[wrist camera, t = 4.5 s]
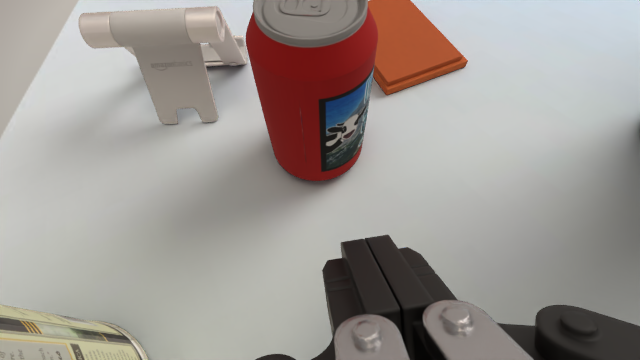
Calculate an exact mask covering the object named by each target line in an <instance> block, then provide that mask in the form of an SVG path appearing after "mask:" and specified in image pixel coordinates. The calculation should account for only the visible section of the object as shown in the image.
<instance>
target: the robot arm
mask: <svg viewBox="0 0 640 360" xmlns="http://www.w3.org/2000/svg"><path fill="white" fill-rule="evenodd" d="M341 252H342V258H340V259H333V260H327V262H326V264H325V266H324V268H323V270H322V271H323V278H324V285H325V292H326V299H327V307H328V313H329V319H330V324H331V330H332V335H333V339H332V341H331V343H330V345H329V346H328V347H327V349H326V350H325V351H323V352H322V353H321V354H320V355H318V356H317V357H315V358H313V359H312V360H640V326H637V325H634V324H631V323H628V322H624V321H621V320H618V319H615V318H612V317H608V316H605V315H602V314H599V313H596V312H593V311H589V310H586V309H583V308H579V307H574V306H567V305H553V306H548V307H545V308H543V309H541V310H540V311H539V312H538V313H537V315H536V321H535V326H527V325H511V324H500V323H496V322H495V321H494V320H493V319H492V318H491V317H490V316H489V315H488V314H487V313H485V312H484V311H483V310H482V309H480V308H479V307H477V306H475V305H473V304H470V303H467V302H463V301H458V300H457V299H456V297H455V296H454V295H453V294H452V292H451V291H450V290H449V289H448V287H447V286H446V285H445V284H444V282H443V281H442V280H441V279H440V278H439V276H438V275H437V274H435V271H434V270H433V269H432V268H431V266H429V265H428V263H427V261H426V260H425V259H424V258H423V256H422V255H421V254H419V253H417V252H416V251H414V250H412V249H410V248H408V247H407V248H400V249H398V248H397V247H396V245H395V244H394V242H393V241H392V239H391V238H390V236H389V235H383V236H377V237H370V238H365V240H364V239H358V240H352V241H346V242H341ZM256 360H296V359H294V358H292V357H290V356H287V355H283V354H271V355H266V356H263V357H260V358H258V359H256Z"/></svg>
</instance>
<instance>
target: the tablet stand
mask: <svg viewBox="0 0 640 360" xmlns="http://www.w3.org/2000/svg"><path fill="white" fill-rule="evenodd" d="M79 29H80V33H81V35H82V37H83V39H84V41H85V42H86V43H87V44H88V45H89V46H90V47H92V48H114V47H124V48H125V49H127V50H128V51H129V52H130V53H131V54H133V55H134V56H135V57H136V58H137V61H138V63H139V66H140V69H141V71H142V74H143V77H144V80H145V82H146V85H147V88H148V90H149V93H150V96H151V98H152V101H153V104H154V106H155V109H156V112H157V115H158V117H159V120H160V122H162V123H163V124H178V118H177V111H176V110H177V109H182V108H194V109H196V110H197V112H198V114H199V116H200V118H201V120H202V122H214V121H217V119H218V113H217V109H216V105H215V101H214V97H213V93H212V89H211V85H210V81H209V77H208V73H207V69H206V66H221V65H230V66H237V65H240V64H247V60H248V58H247V49H246V44H245V41H244V38H243V36H233V35H232V33H231V31H230V29H229V27H228V25H227V23H226V21H225V19H224V17H223V15H222V13H221V11H220V9H219V7H217V6H214V7H195V8H175V9H155V10H136V11H116V12H97V13H83V14H81V15H80V17H79ZM200 43H209V44H205V45H200Z"/></svg>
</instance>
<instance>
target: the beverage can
mask: <svg viewBox="0 0 640 360" xmlns="http://www.w3.org/2000/svg"><path fill="white" fill-rule="evenodd" d="M377 43H378V29H377V25H376V22H375V20H374V18H373V15H372V13H371V11H370V9H369V7H368V0H254V2H253V13H252V16H251V19H250V22H249V25H248V28H247V32H246V46H247V50H248V54H249V58H250V62H251V66H252V70H253V74H254V79H255V83H256V86H257V90H258V94H259V98H260V102H261V106H262V110H263V114H264V118H265V121H266V125H267V129H268V133H269V136H270V140H271V143H272V147H273V150H274V154H275V157H276V159H277V161H278V162H279V164H280V165H281V166H282V167H283V168H284V169H285V170H286V171H287V172H289V173H290V174H292V175H294V176H296V177H298V178H301V179H305V180H311V181H322V180H328V179H332V178H335V177H337V176H340V175H342V174H343V173H345V172H346V171H348V170H349V169H350V168H351V167H352V166H353V165H354V164H355V162H356V161H357V159H358V157H359V155H360V152H361V148H362V142H363V136H364V130H365V125H366V118H367V112H368V105H369V99H370V92H371V86H372V79H373V72H374V64H375V57H376V50H377Z"/></svg>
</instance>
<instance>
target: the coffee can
mask: <svg viewBox="0 0 640 360" xmlns="http://www.w3.org/2000/svg"><path fill="white" fill-rule="evenodd" d="M0 360H148V358H147V355H146V353H145V351H144V350H143V348H142V347H141V345H140V344H139V343H138V342H137V340H136V339H135V338H134V337H133V336H131V335H130V334H129V333H128V332H126V331H125V330H123V329H121V328H120V327H119V326H115V325H113V324H110V323H106V322H100V321H86V320H81V319H75V318H71V317H66V316H60V315H55V314H49V313H43V312H37V311H32V310H27V309H21V308H16V307H11V306H5V305H0Z"/></svg>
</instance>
